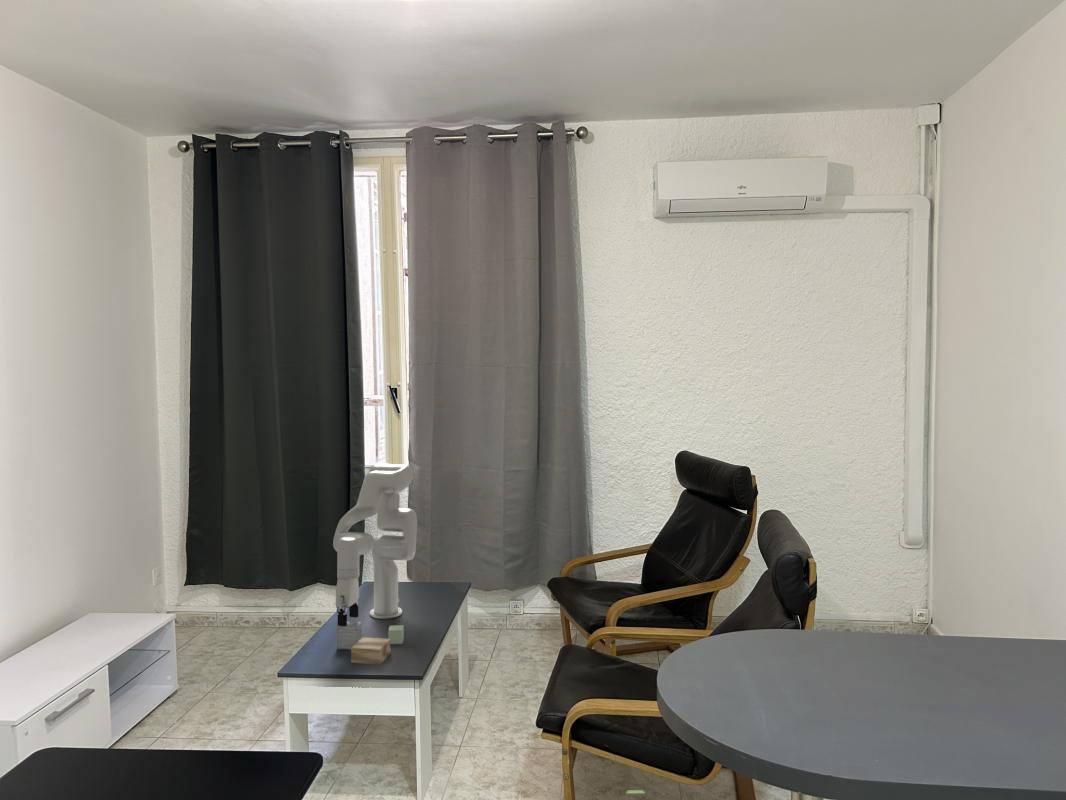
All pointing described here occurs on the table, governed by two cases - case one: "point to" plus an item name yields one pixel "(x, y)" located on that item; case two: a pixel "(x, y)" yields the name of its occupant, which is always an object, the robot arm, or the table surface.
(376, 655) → the oak block
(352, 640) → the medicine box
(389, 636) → the green cube
